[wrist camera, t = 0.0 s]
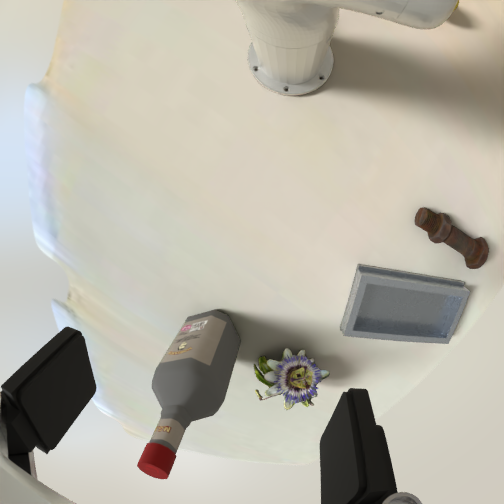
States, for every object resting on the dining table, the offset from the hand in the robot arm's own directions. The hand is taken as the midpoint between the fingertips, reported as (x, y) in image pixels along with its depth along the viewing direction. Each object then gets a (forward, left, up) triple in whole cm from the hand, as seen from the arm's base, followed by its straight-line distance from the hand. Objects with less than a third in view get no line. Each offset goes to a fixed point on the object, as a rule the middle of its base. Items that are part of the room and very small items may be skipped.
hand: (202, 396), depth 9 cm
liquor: (+23, -7, -37) cm, 44 cm away
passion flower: (+28, +8, -37) cm, 47 cm away
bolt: (-2, +30, -37) cm, 48 cm away
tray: (+12, +26, -37) cm, 47 cm away
